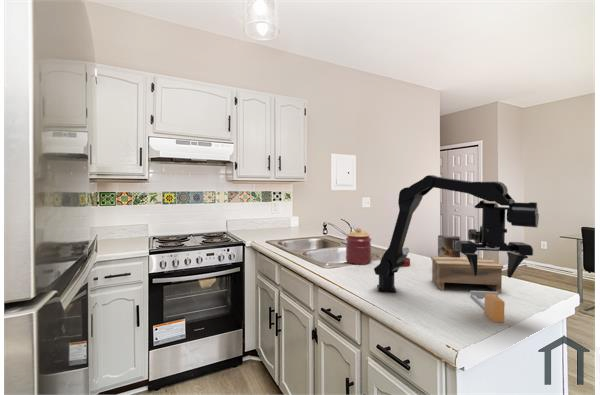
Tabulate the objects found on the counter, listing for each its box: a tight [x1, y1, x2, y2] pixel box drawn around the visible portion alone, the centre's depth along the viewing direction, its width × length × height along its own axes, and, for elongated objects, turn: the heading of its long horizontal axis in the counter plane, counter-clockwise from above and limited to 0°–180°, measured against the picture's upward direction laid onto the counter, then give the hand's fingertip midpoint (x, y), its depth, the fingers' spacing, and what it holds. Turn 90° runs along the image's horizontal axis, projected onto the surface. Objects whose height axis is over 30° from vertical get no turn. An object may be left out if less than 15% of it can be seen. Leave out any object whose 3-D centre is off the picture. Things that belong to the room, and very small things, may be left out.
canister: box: [345, 227, 372, 266], centre depth 154 cm, size 13×13×18 cm
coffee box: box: [437, 234, 461, 258], centre depth 135 cm, size 9×6×16 cm
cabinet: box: [430, 256, 504, 294], centre depth 116 cm, size 12×22×10 cm, turn 80°
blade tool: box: [470, 290, 506, 323], centre depth 95 cm, size 19×9×6 cm, turn 170°
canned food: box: [401, 247, 411, 268], centre depth 149 cm, size 11×10×10 cm
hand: (491, 276), depth 89 cm, fingers open, 9 cm apart
